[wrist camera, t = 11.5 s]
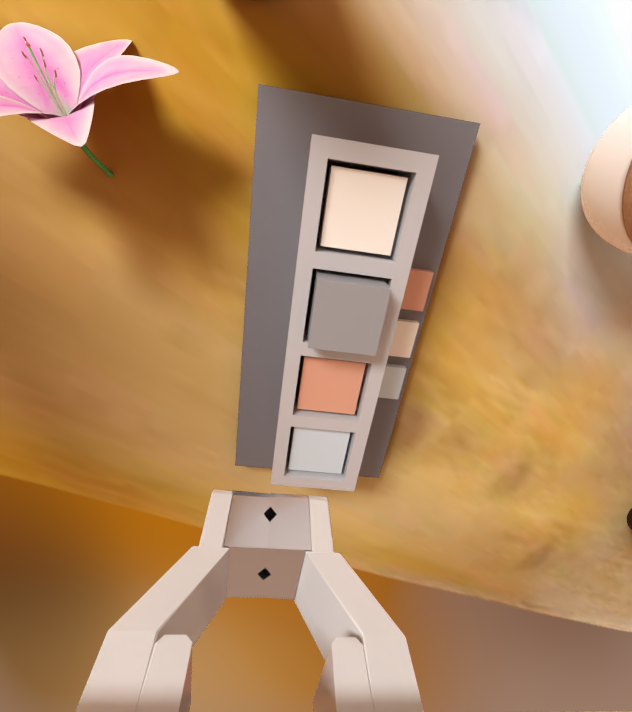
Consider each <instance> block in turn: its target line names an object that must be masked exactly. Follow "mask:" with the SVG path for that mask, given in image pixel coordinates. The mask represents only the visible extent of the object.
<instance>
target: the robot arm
mask: <svg viewBox="0 0 632 712" xmlns="http://www.w3.org/2000/svg"><path fill="white" fill-rule="evenodd" d="M226 597H263V598H280V599H295V603H296V605H297V607H298V609H299V611H300V613H301V615H302V617H303V619H304V621H305V623H306V624H307V626H308V628H309V630H310V632H311V634H312V636H313V638H314V640H315V642H316V644H317V646H318V648H319V650H320V652H321V654H322V656H323V657H324V660H325V661H326V663H325V666H324V669H323V672H322V675H321V678H320V681H319V684H318V687H317V690H316V693H315V696H314V699H313V712H424V710H423V706H422V702H421V698H420V694H419V690H418V686H417V682H416V677H415V674H414V669H413V665H412V662H411V657H410V653H409V649H408V645H407V641H406V637H405V636H404V635H403V633H402V632H401V631H400V629H399V628H398V627H397V626H396V624H395V623H394V622H393V620H392V619H391V618H390V616H389V615H388V614H387V613H386V611H385V610H384V609H383V607H382V606H381V605H380V604H379V603H378V601H377V600H376V598H375V597H374V596H373V595H372V593H371V592H370V591H369V589H368V588H367V587H366V586H365V584H364V583H363V582H362V580H361V579H360V578H359V577H358V575H357V574H356V573H355V572H354V570H353V569H352V568H351V566H350V565H349V564H348V563H347V561H346V560H345V559H344V557H343V556H342V555H341V554H340V553H334V545H333V537H332V529H331V520H330V512H329V504H328V499H327V497H322V496H307V495H290V494H265V493H254V492H244V491H229V490H218V489H214V490H213V492H212V494H211V498H210V502H209V506H208V510H207V514H206V519H205V523H204V527H203V531H202V535H201V539H200V543H199V546H193V547H191V548H190V549H189V550H188V551H187V552H186V553H185V554H184V555H183V556H182V557H181V558H180V559H179V560H178V561H177V562H176V563H175V564H174V565H173V566H172V567H171V568H170V569H169V570H168V571H167V572H166V573H165V574H164V575H163V576H162V577H161V578H160V579H159V580H158V581H157V582H156V583H155V584H154V585H153V586H152V587H151V588H150V589H149V590H148V591H147V592H146V593H145V594H144V595H143V596H142V597H141V598H140V599H139V600H138V601H137V602H136V603H135V604H134V605H133V606H132V607H131V608H130V610H128V611H127V612H126V613H125V614H124V615H123V616H122V617H121V618H120V619H119V620H118V621H117V622H116V623H115V624H114V625H113V626H112V627H111V628H110V629H109V630H108V632H107V634H106V637H105V639H104V642H103V644H102V647H101V649H100V652H99V654H98V657H97V659H96V662H95V664H94V667H93V669H92V672H91V674H90V677H89V679H88V682H87V684H86V687H85V689H84V692H83V694H82V697H81V699H80V702H79V704H78V707H77V709H76V712H189V710H190V705H191V674H192V672H191V671H192V647H193V646H194V644H195V643H196V642H197V640H198V639H199V637H200V636H201V634H202V633H203V631H204V630H205V629H206V627H207V626H208V624H209V623H210V621H211V620H212V618H213V617H214V616H215V614H216V613H217V611H218V610H219V608H220V607H221V606H222V604H223V603H224V601H225V599H226ZM567 712H568V711H567ZM569 712H571V711H569ZM572 712H632V711H572Z"/></svg>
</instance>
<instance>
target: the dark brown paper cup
mask: <svg viewBox="0 0 632 712" xmlns="http://www.w3.org/2000/svg"><path fill="white" fill-rule="evenodd" d="M627 523H628V525H629V526H630V528H631V529H632V509H631V510H630V511H629V513H628V516H627Z"/></svg>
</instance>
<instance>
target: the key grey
mask: <svg viewBox="0 0 632 712" xmlns="http://www.w3.org/2000/svg"><path fill="white" fill-rule="evenodd" d="M390 293H391V289H390V287H389V286H388V285H387V283H386V282H385V281H384V279H383V278H382V277H374V276H367V275H360V274H352V273H345V272H338V271H330V270H323V269H315V273H314V281H313V288H312V295H311V302H310V309H309V316H308V323H307V337H308V348H312V349H321V350H329V351H338V352H346V353H355V354H363V355H372V356H376V352H377V348H378V344H379V339H380V335H381V331H382V327H383V323H384V318H385V314H386V310H387V306H388V301H389V297H390Z"/></svg>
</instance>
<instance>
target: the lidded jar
mask: <svg viewBox="0 0 632 712" xmlns="http://www.w3.org/2000/svg"><path fill="white" fill-rule="evenodd" d="M581 202H582V208H583V211H584V214H585V216H586V219H587V221H588V222H589V224H590V225H591V227H592V228H593V229H594V231H595V232H596V233H597V234H598V235H599V236H600V237H601V238H602V239H604V240H605V241H607V242H608V243H610V244H611V245H613V246H614V247H616V248H618V249H620V250H622V251H624V252H626V253H629V254H632V105H630V106H629V107H628V108H627V109H626V110H625V111H623V112H622V113H621V114H620V115H619V116H618V117H617V118H616V119H615V120H614V121H613V122H612V123H611V124H610V125H609V127H608V128H607V129H606V130H605V132H604V133H603V134H602V136H601V137H600V139H599V140H598V141H597V143H596V144H595V146H594V148H593V150H592V151H591V153H590V155H589V158H588V160H587V162H586V165H585V168H584V172H583V175H582V181H581Z"/></svg>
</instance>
